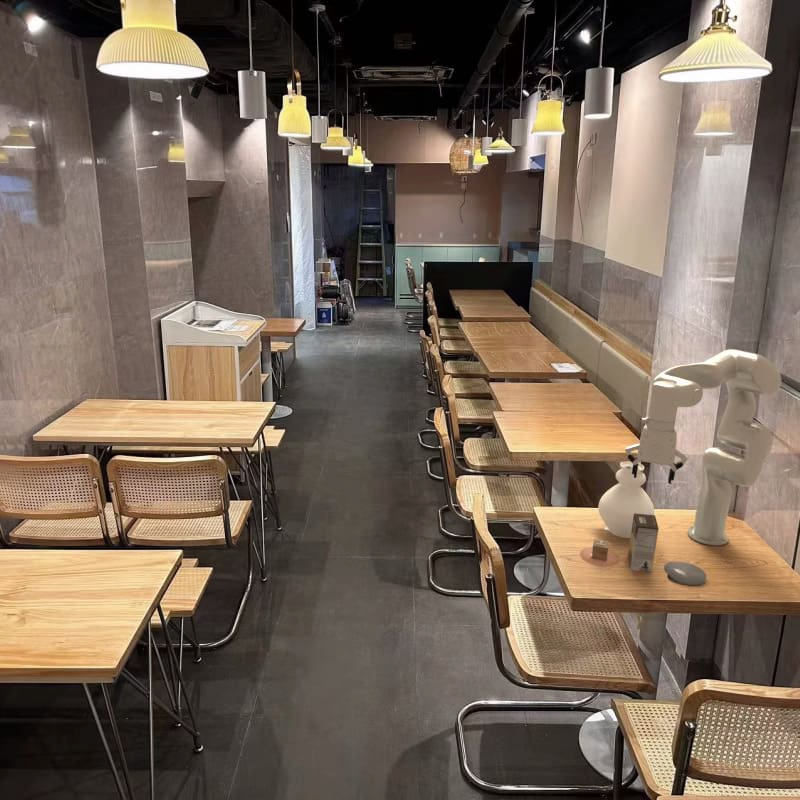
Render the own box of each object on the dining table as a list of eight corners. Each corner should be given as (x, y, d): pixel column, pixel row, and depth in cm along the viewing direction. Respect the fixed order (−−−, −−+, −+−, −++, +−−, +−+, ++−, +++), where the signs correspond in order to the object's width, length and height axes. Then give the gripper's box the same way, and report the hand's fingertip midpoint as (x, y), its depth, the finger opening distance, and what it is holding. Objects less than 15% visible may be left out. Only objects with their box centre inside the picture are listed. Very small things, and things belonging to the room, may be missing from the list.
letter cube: (592, 551, 220) (594, 538, 218) (607, 554, 218) (609, 541, 217) (591, 558, 216) (593, 544, 214) (606, 561, 214) (608, 547, 213)
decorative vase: (648, 526, 241) (658, 459, 233) (652, 551, 224) (663, 479, 217) (595, 519, 245) (603, 453, 237) (595, 542, 228) (604, 472, 221)
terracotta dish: (581, 547, 225) (581, 544, 224) (620, 554, 221) (620, 551, 220) (577, 564, 214) (577, 561, 213) (617, 573, 210) (618, 569, 210)
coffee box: (626, 558, 218) (633, 512, 214) (647, 561, 217) (655, 514, 213) (629, 573, 210) (636, 525, 205) (652, 576, 209) (659, 528, 204)
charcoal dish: (663, 561, 217) (663, 558, 217) (704, 569, 214) (705, 566, 213) (663, 580, 207) (663, 577, 206) (706, 589, 203) (707, 585, 202)
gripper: (628, 423, 199) (620, 478, 204) (693, 432, 194) (683, 489, 199) (629, 416, 206) (622, 470, 211) (692, 425, 201) (683, 479, 206)
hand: (652, 479), depth 205 cm, fingers open, 9 cm apart
